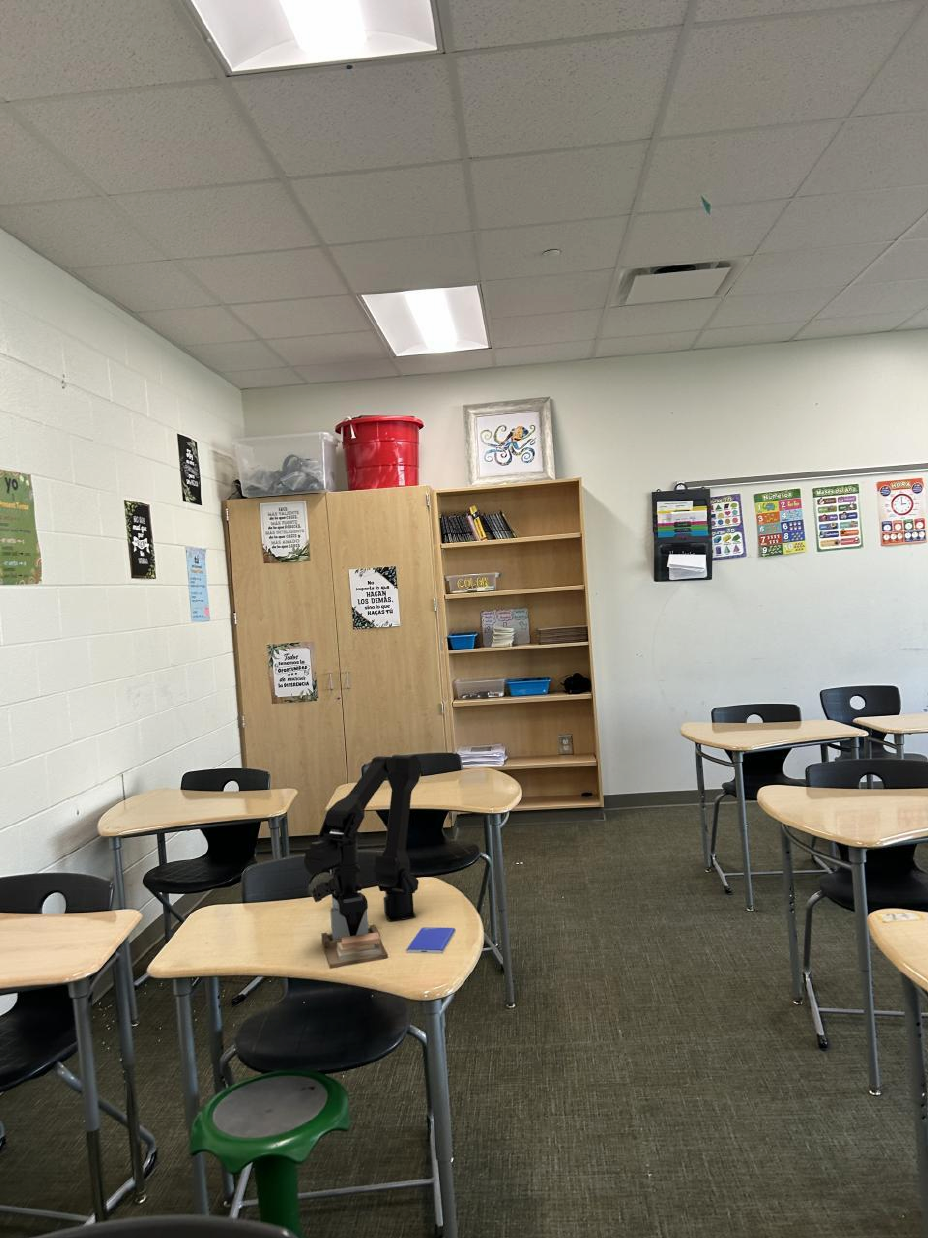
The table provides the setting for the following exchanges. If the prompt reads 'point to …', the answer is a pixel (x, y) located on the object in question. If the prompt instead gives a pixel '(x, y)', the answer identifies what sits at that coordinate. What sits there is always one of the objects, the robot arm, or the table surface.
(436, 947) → the hard drive
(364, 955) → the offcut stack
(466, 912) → the table surface
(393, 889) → the robot arm
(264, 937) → the table surface
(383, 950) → the rack
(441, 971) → the table surface
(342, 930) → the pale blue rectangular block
